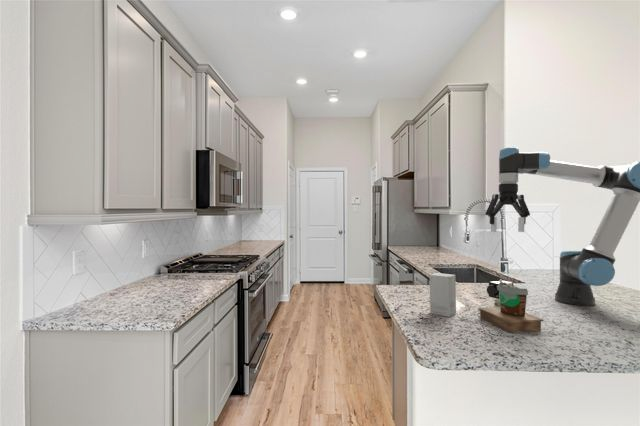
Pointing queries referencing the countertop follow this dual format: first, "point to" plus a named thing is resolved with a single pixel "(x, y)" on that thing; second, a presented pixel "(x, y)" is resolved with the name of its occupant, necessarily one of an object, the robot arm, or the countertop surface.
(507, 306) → the food container
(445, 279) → the skincare box
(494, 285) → the pneumatic valve
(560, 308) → the countertop surface
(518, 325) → the stand
